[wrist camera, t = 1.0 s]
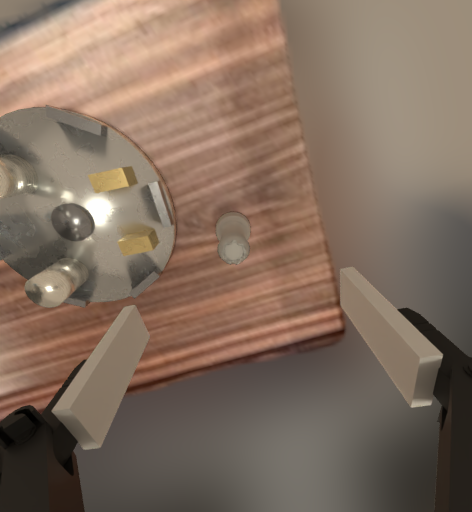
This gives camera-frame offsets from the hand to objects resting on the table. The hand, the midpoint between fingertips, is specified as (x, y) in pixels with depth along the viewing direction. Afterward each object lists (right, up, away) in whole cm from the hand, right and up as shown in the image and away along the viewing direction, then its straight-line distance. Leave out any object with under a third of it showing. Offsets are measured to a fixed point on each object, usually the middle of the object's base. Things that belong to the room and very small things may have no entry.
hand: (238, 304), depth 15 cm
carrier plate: (-19, +8, +14) cm, 25 cm away
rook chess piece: (-1, +7, +15) cm, 16 cm away
